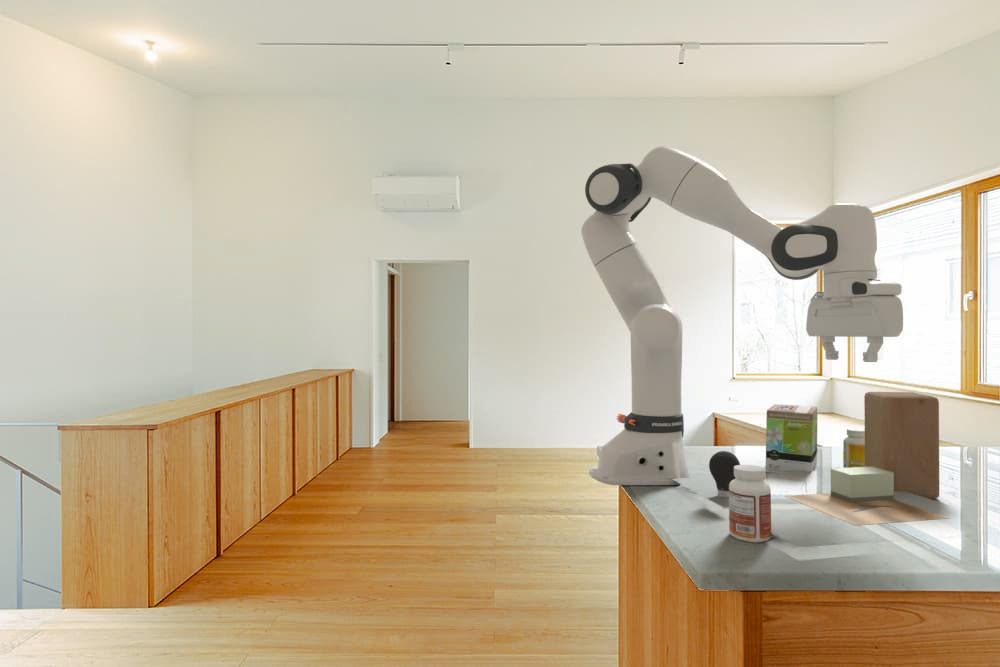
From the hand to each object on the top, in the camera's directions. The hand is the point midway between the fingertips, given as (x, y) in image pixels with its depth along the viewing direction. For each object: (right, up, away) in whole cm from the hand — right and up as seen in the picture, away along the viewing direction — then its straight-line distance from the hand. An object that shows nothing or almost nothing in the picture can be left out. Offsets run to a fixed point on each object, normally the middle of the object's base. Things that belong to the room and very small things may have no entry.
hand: (850, 360), depth 110 cm
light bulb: (-24, -28, 0) cm, 37 cm away
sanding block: (+1, -26, -2) cm, 26 cm away
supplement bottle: (+17, -27, +25) cm, 41 cm away
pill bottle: (-27, -28, -18) cm, 43 cm away
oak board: (-3, -27, -8) cm, 28 cm away
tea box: (+2, -27, +27) cm, 38 cm away
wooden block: (+14, -27, +7) cm, 31 cm away
